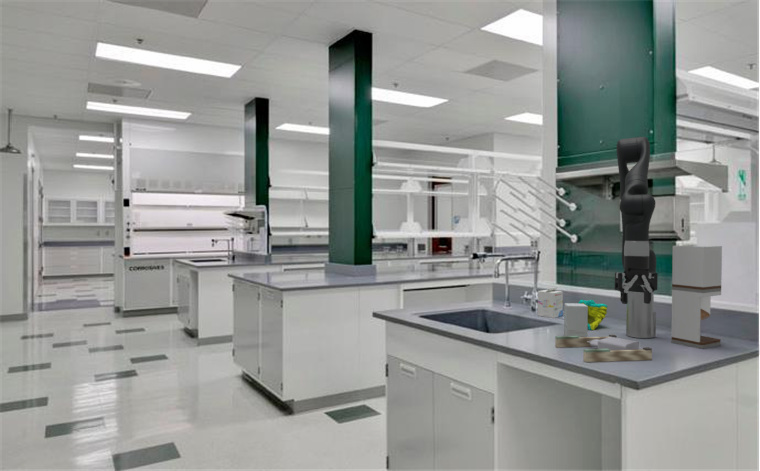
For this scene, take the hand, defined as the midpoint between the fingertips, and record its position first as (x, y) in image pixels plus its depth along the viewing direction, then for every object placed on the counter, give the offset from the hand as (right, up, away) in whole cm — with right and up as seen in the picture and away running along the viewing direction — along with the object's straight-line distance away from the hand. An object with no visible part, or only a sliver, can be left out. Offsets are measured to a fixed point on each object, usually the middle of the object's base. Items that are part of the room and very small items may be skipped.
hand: (635, 303), depth 167 cm
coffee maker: (+28, -16, +12) cm, 34 cm away
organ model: (+1, -16, +42) cm, 45 cm away
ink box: (-6, -15, +67) cm, 69 cm away
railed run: (-12, -16, -1) cm, 20 cm away
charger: (-9, -17, 0) cm, 19 cm away
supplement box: (-12, -16, +21) cm, 29 cm away
